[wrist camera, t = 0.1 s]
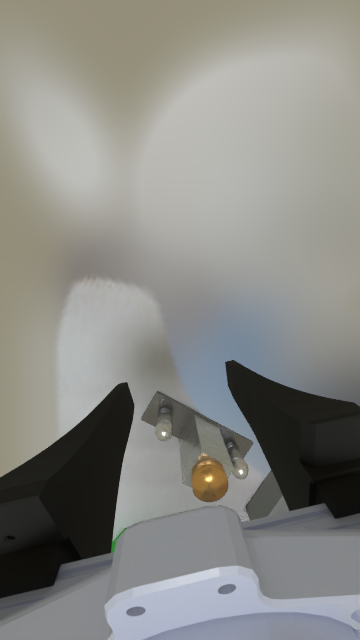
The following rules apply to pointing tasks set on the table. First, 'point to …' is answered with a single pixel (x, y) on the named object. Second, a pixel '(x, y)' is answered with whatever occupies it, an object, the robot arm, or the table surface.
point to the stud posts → (174, 420)
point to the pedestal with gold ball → (204, 460)
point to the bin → (267, 500)
